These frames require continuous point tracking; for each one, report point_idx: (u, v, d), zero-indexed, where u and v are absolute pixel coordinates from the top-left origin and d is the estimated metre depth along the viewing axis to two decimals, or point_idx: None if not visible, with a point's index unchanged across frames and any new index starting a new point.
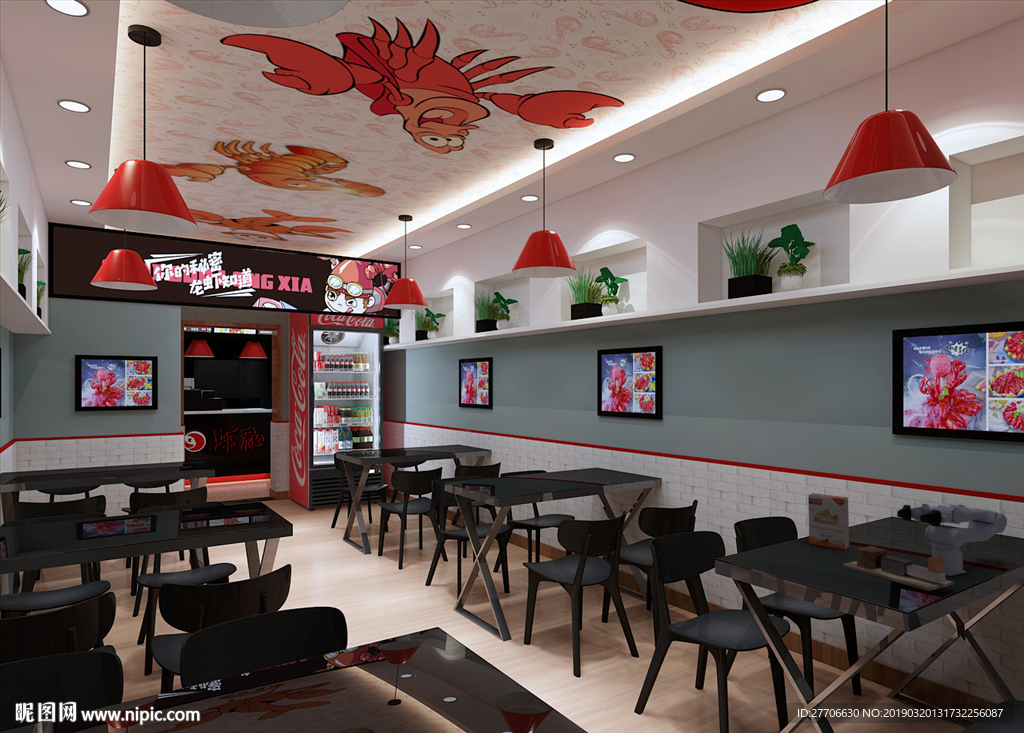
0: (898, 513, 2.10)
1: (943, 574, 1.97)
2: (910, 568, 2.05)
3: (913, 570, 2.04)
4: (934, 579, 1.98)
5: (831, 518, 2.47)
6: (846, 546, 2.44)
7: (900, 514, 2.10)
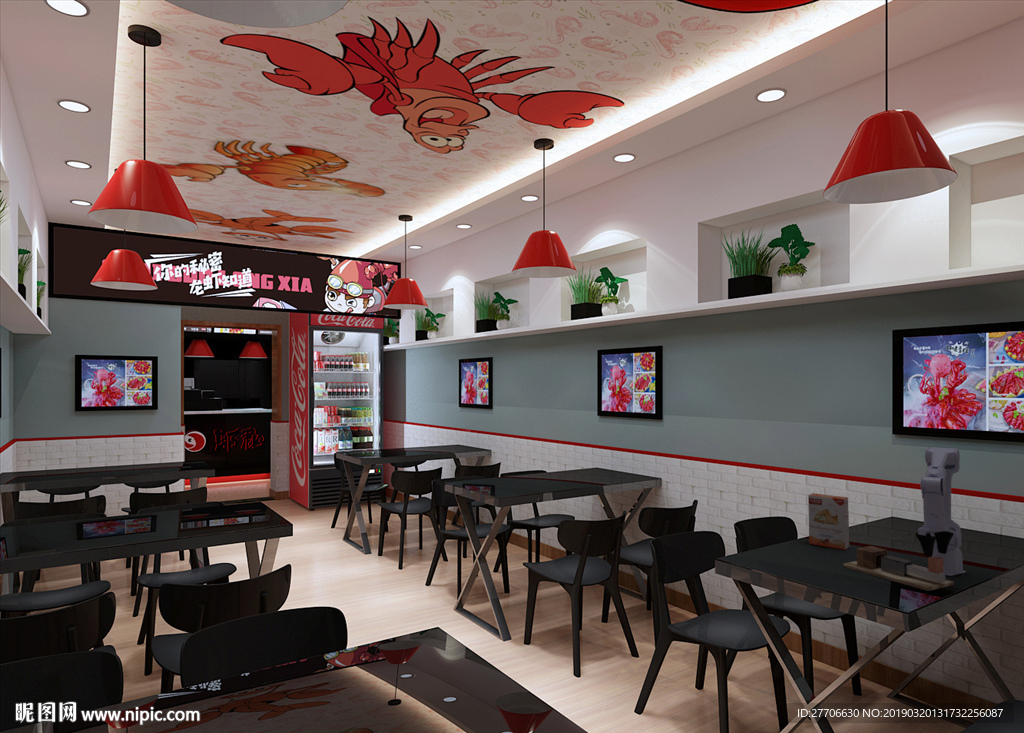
0: None
1: (943, 574, 1.97)
2: (910, 568, 2.05)
3: (913, 570, 2.04)
4: (934, 579, 1.98)
5: (831, 518, 2.47)
6: (846, 546, 2.44)
7: None
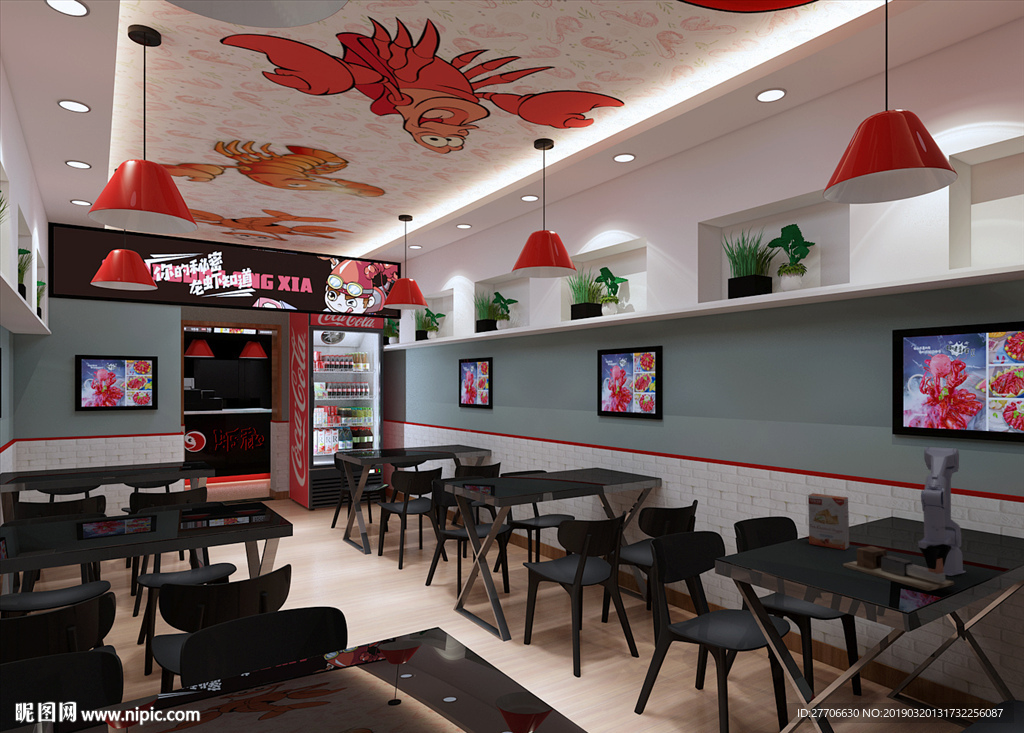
0: None
1: (943, 574, 1.97)
2: (910, 568, 2.05)
3: (913, 570, 2.04)
4: (934, 579, 1.98)
5: (831, 518, 2.47)
6: (846, 546, 2.44)
7: None
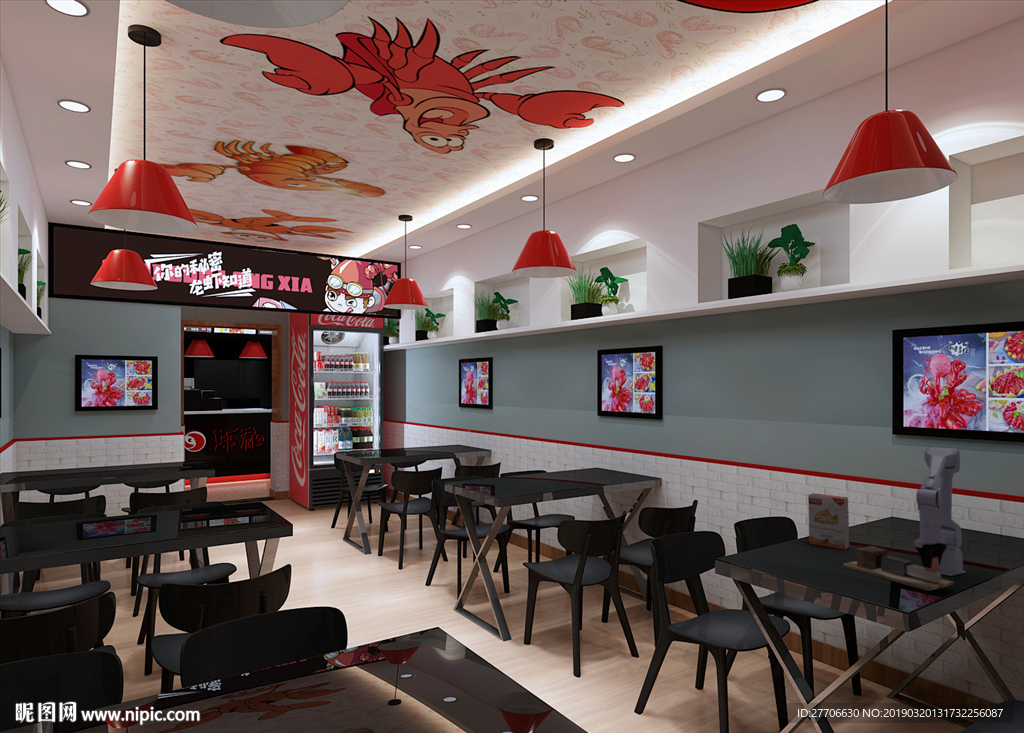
0: None
1: (939, 573, 1.98)
2: (906, 567, 2.06)
3: (909, 569, 2.05)
4: (930, 578, 1.99)
5: (831, 518, 2.47)
6: (846, 546, 2.44)
7: None
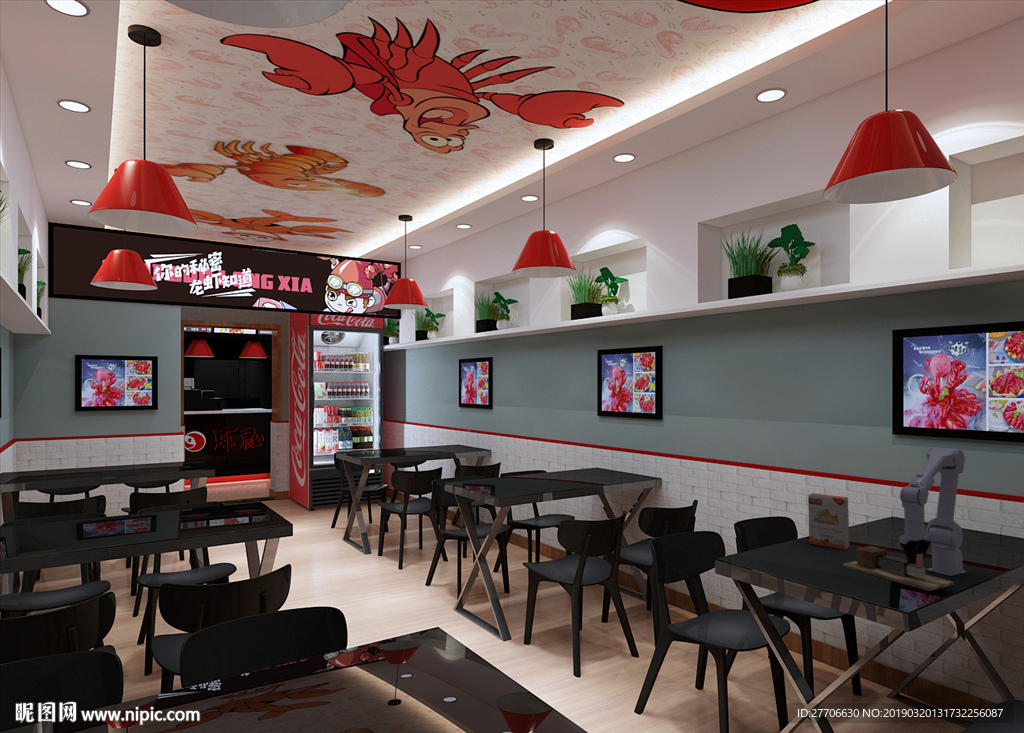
0: None
1: (923, 569, 2.03)
2: None
3: None
4: (914, 574, 2.03)
5: (831, 518, 2.47)
6: (846, 546, 2.44)
7: None
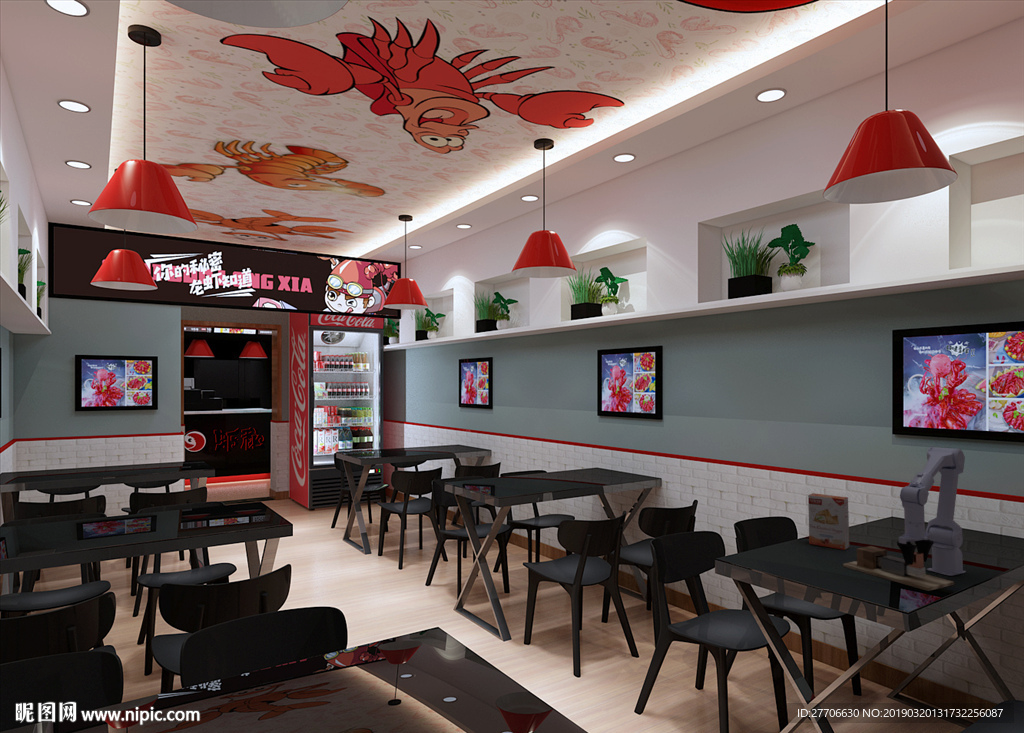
0: None
1: (923, 569, 2.03)
2: None
3: None
4: (914, 574, 2.03)
5: (831, 518, 2.47)
6: (846, 546, 2.44)
7: None
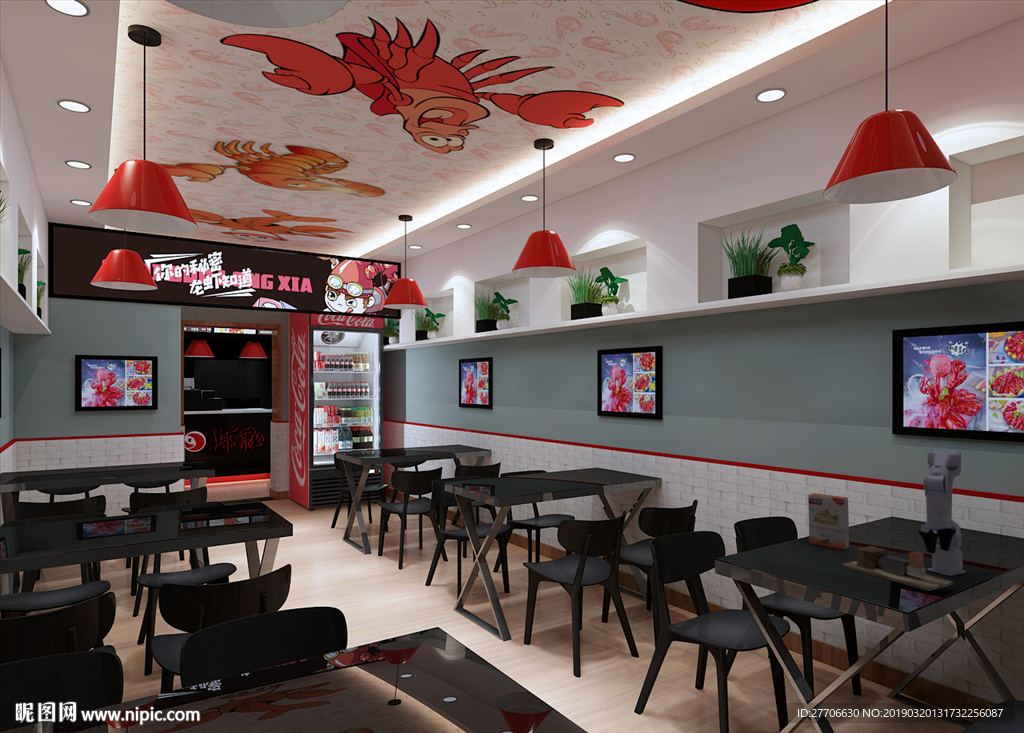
0: None
1: (923, 569, 2.03)
2: None
3: None
4: (914, 574, 2.03)
5: (831, 518, 2.47)
6: (846, 546, 2.44)
7: None
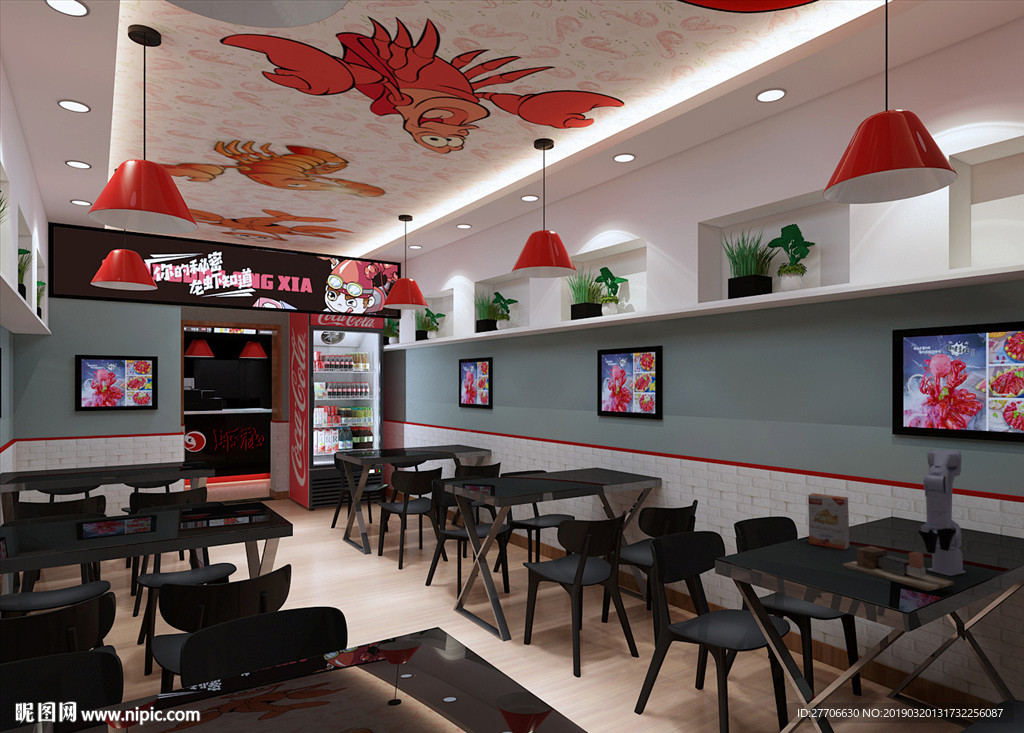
0: None
1: (923, 569, 2.03)
2: None
3: None
4: (914, 574, 2.03)
5: (831, 518, 2.47)
6: (846, 546, 2.44)
7: None
